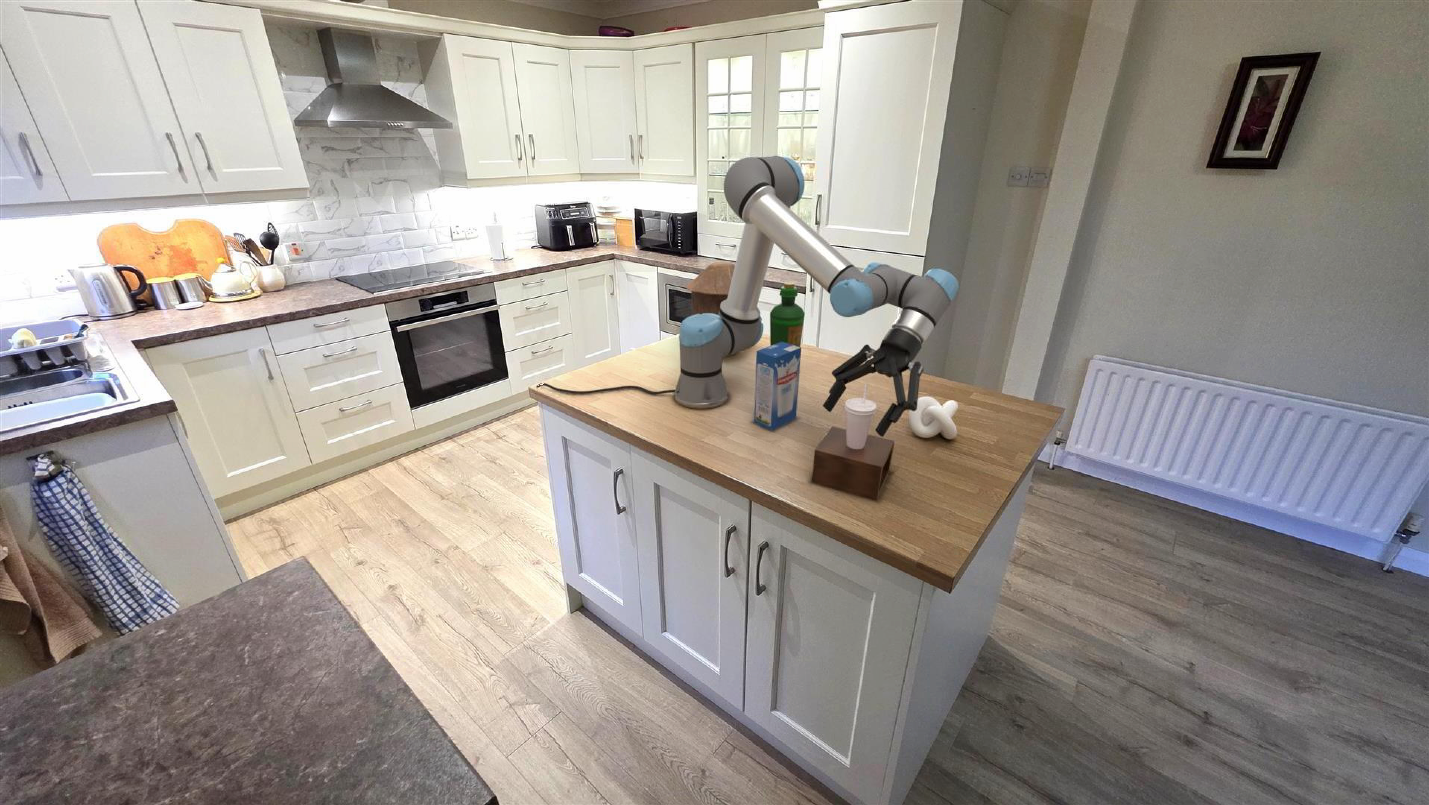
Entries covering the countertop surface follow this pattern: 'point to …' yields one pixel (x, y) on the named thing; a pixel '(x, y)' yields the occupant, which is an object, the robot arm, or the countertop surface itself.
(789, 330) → the bottle
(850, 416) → the smoothie
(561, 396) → the countertop surface
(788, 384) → the milk carton
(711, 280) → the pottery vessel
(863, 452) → the open-ended wooden box
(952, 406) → the white knot sculpture
